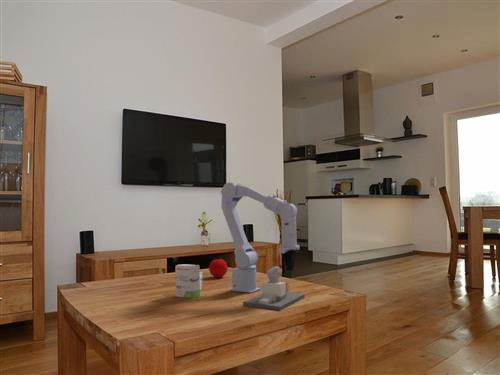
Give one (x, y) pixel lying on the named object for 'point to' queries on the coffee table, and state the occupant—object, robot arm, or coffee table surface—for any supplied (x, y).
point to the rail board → (273, 301)
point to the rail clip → (287, 287)
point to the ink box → (187, 280)
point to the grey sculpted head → (274, 273)
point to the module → (274, 289)
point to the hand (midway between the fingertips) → (289, 270)
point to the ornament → (218, 268)
